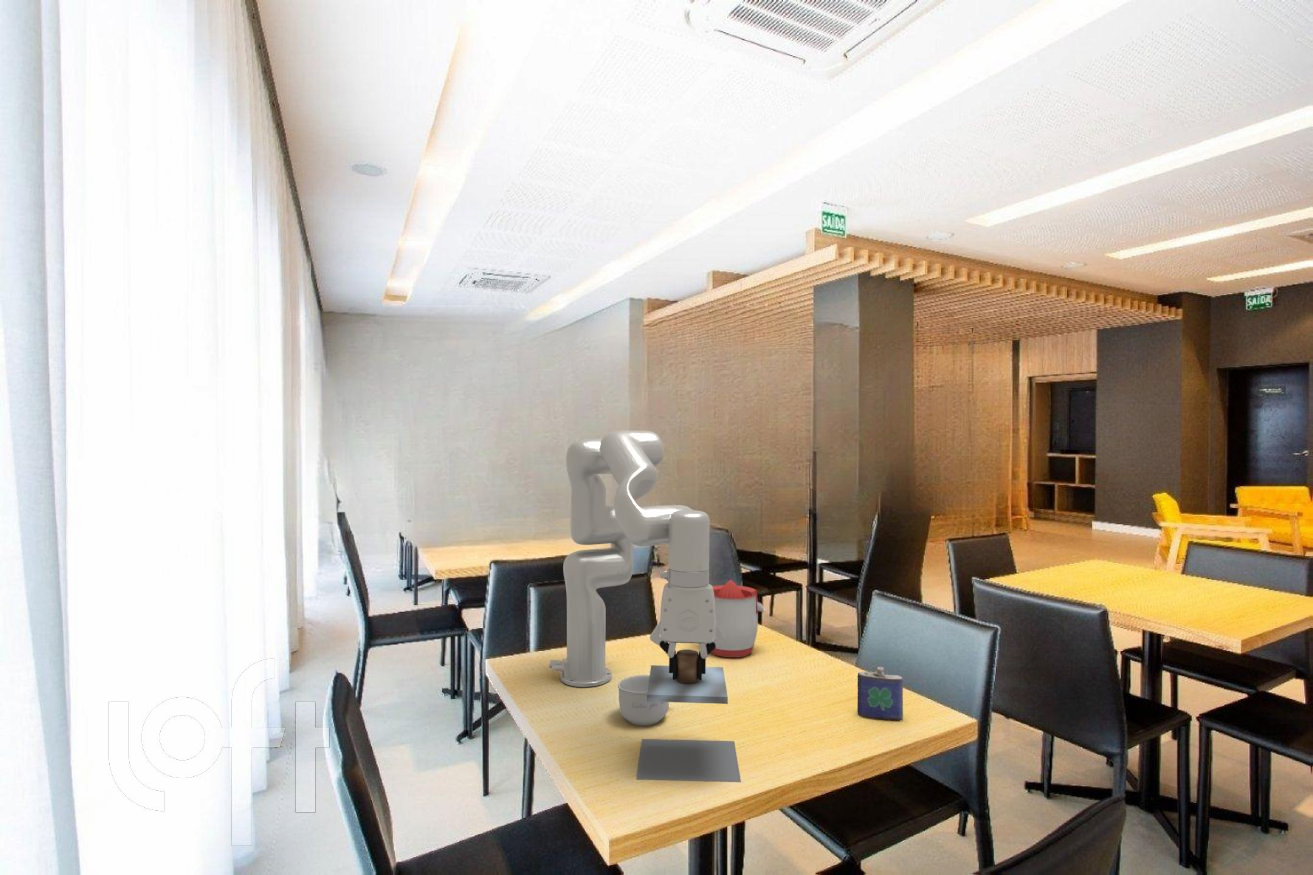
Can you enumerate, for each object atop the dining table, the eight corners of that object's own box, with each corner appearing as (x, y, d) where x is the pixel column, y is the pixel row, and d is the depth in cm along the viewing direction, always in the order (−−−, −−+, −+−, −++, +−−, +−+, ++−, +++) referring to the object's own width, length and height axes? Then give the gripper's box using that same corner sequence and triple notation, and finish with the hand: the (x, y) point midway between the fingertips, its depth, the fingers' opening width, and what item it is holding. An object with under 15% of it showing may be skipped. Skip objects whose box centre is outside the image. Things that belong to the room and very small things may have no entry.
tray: (636, 781, 111) (636, 778, 111) (641, 740, 126) (641, 738, 126) (740, 784, 110) (741, 781, 110) (734, 742, 125) (734, 740, 125)
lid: (646, 701, 112) (647, 665, 112) (651, 671, 126) (651, 639, 126) (727, 703, 111) (728, 668, 111) (722, 673, 125) (723, 641, 125)
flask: (902, 717, 137) (902, 666, 137) (903, 722, 134) (903, 671, 134) (857, 712, 140) (857, 662, 140) (857, 717, 137) (857, 667, 137)
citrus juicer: (766, 663, 170) (766, 587, 171) (700, 659, 173) (701, 585, 173) (764, 644, 186) (764, 575, 186) (703, 641, 188) (704, 573, 188)
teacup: (631, 735, 128) (631, 695, 128) (609, 714, 138) (609, 677, 138) (691, 721, 135) (691, 683, 135) (666, 702, 144) (666, 667, 144)
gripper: (641, 581, 115) (640, 683, 115) (735, 583, 114) (734, 686, 114) (644, 572, 122) (643, 668, 123) (732, 574, 122) (731, 670, 122)
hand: (687, 676), depth 118 cm, fingers closed on lid, 4 cm apart
